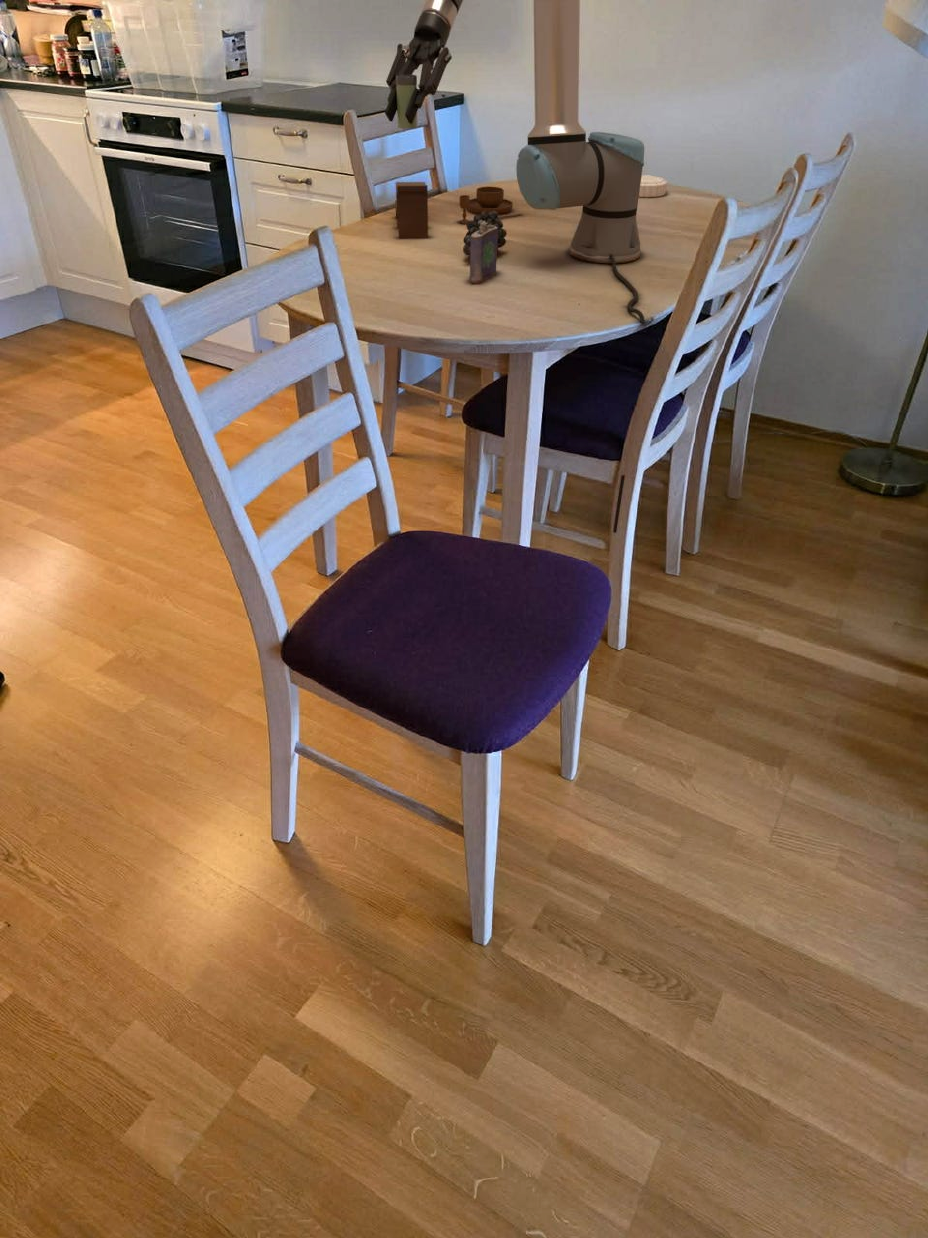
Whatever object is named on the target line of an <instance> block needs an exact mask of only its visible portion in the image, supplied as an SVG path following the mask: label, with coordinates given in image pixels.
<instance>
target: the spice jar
mask: <svg viewBox="0 0 928 1238" xmlns="http://www.w3.org/2000/svg"><path fill="white" fill-rule="evenodd" d="M415 88H417V89H418V75H416V74H412V75H410V74H401V75H396V90H397V111H396V119H397V128H399V129H403V130H412V129H418V126H419V125H418V123H419V122H418V112H417V113H416V115H415V118H414V121H413V123H412V124H409V122H408V120H407V118H406V116H405V113H406V110H407V108H408V105H409V102H410V100H411V97H412V95H413V92H414V90H415Z"/></svg>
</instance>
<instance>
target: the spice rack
mask: <svg viewBox="0 0 928 1238" xmlns="http://www.w3.org/2000/svg"><path fill="white" fill-rule="evenodd" d="M428 193H429V191H428V185H427V183H426V181H396V182H395V199H396V200H395V201H394V203H395V204H394V206H395V207H394V209H395V219H396V226H397V227H396V228H397V230H398V239H428V238H429V204H428V203H429V202H428V201H429V200H428V199H429V198H428Z"/></svg>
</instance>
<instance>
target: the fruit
mask: <svg viewBox="0 0 928 1238" xmlns="http://www.w3.org/2000/svg"><path fill="white" fill-rule="evenodd" d="M498 217H500V216H499V214H498V213H497V212H496V211H492V212H490V213H489V212H487V211H483V212H482V214H478V213H475V214H474V215H473V217H472V218H473V219H472V220H469V221H470V222H469V223H467V224H465V225H466V229H467V232H466V234H465V236H463V241H462V242H463V244H464V246H463V247H462V252H463V254H464V255H465V256H467V257H468V258H469V259H470V254H471V235H472V234H473V233H474V232H476V231H478V230H480V229H479V227H480V225H481V224H480V223H481V222H480V223H479V224H478V222H479V221H481V220H483V221H485V222H486V223H488V224H486V226H487V225H491V226H495V227H498V242H497V253H498V252H499V249H501V248H502V247H504V246H505V245H506V243H507V240H506V236H507V235H508V234H507V233H508V232H507V230H506V229H505V228H503V227H504V223H503V221H502V220H501V219H498ZM483 221H482V222H483Z"/></svg>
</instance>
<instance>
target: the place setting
mask: <svg viewBox="0 0 928 1238" xmlns="http://www.w3.org/2000/svg"><path fill="white" fill-rule="evenodd" d="M475 196H476V197H475V198H471V196H470V195H467V194H462V195H459V207H460V209H462V213H461V214H462V216H461V217H462V219H461V220H459V221H458V224H460V225H467V223H469V222H470V221H471V220H468V219H467V215H468V213H467V210H469V211H470V212H472V213H474V214H479V215H481V214H482V212H483V211H487V212H489V213H490V212H492V211H496V212H497V213H498V215H501V216H499V217H498V220H501V218H508V217H509V218H510V217H517V216H521V215H522V214H521V213H519V214H509V215H503V214H507V213H508V212H509V211H511V210H512V209H513V206H514V202H513V201H511V200H509V199H506V198H504V196H505V190H504V189H503V188H502V187H498V186H481V187H477V188H476V195H475Z"/></svg>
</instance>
